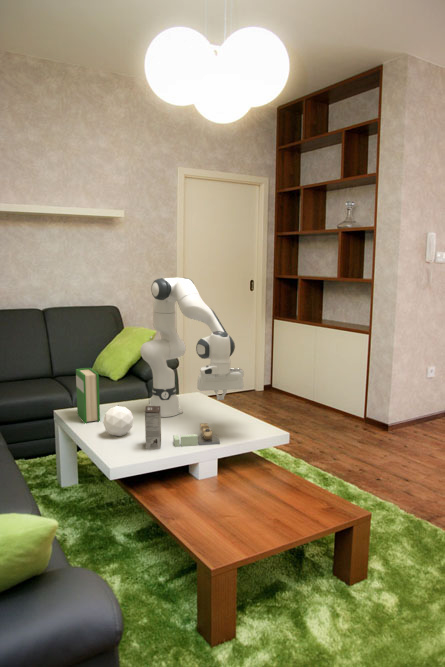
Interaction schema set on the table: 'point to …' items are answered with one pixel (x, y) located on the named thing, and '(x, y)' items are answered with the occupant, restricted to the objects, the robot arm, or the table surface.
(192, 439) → the seat bracket
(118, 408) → the geodesic sphere
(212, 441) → the pin plate
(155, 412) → the coffee box
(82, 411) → the hardback book
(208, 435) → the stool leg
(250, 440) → the table surface
